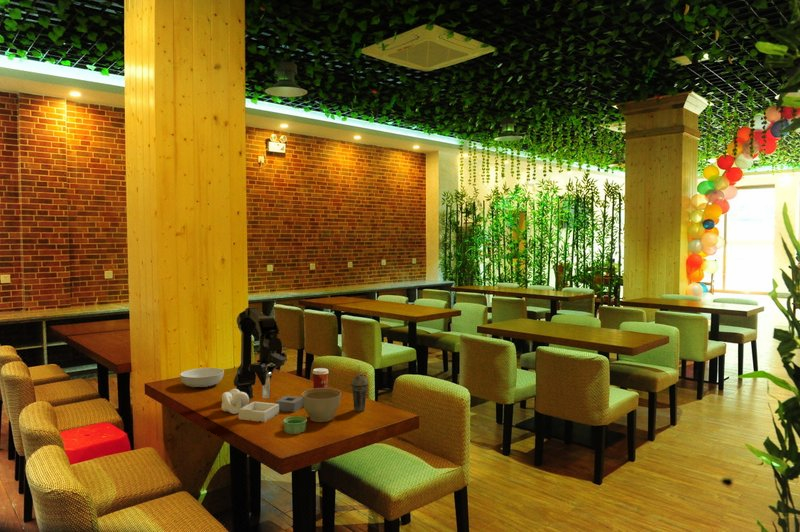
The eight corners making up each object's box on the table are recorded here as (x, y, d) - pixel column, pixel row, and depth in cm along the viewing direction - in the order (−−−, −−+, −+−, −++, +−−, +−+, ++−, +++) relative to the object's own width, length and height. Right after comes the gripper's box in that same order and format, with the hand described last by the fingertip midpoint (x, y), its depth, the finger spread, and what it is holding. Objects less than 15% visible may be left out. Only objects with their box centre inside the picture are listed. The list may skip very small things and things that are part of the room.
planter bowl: (293, 419, 223) (293, 393, 223) (322, 410, 236) (323, 385, 235) (319, 428, 213) (319, 401, 213) (348, 418, 225) (349, 392, 225)
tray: (238, 419, 222) (238, 409, 222) (254, 410, 234) (254, 401, 234) (264, 422, 219) (264, 412, 219) (279, 413, 231) (279, 404, 231)
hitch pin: (258, 398, 227) (258, 373, 226) (263, 395, 231) (263, 370, 231) (268, 398, 226) (268, 374, 225) (273, 396, 230) (273, 371, 230)
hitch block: (275, 410, 235) (275, 401, 235) (285, 404, 244) (285, 395, 244) (294, 412, 233) (294, 403, 232) (303, 406, 241) (303, 397, 241)
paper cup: (325, 402, 248) (325, 372, 247) (309, 400, 250) (309, 370, 249) (330, 397, 256) (331, 368, 255) (315, 396, 257) (315, 367, 257)
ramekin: (285, 436, 204) (285, 424, 204) (281, 428, 212) (281, 417, 212) (309, 433, 208) (309, 422, 208) (303, 425, 216) (303, 415, 216)
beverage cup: (370, 408, 239) (370, 364, 238) (363, 413, 232) (364, 367, 231) (355, 407, 242) (355, 362, 241) (348, 411, 235) (348, 366, 234)
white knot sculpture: (213, 411, 232) (213, 390, 232) (237, 405, 241) (237, 385, 241) (227, 417, 225) (227, 396, 224) (252, 410, 234) (252, 390, 233)
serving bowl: (207, 378, 288) (207, 365, 287) (232, 384, 275) (232, 371, 275) (171, 386, 271) (171, 372, 271) (196, 393, 259) (196, 379, 258)
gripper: (273, 352, 217) (272, 391, 217) (293, 344, 235) (293, 380, 235) (248, 351, 219) (247, 389, 220) (270, 343, 237) (269, 378, 238)
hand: (265, 384), depth 228 cm, fingers closed on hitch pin, 4 cm apart
